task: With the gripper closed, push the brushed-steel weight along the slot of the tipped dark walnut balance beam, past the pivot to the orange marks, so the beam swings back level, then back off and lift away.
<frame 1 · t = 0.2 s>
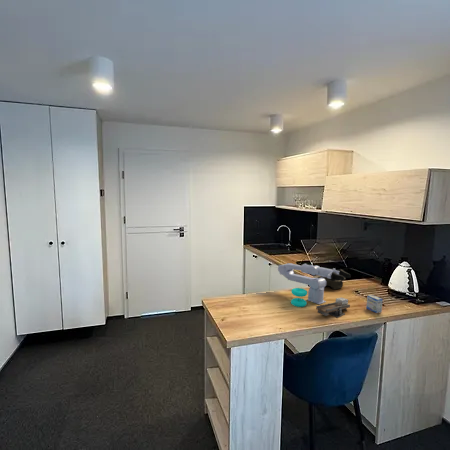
hand: (347, 277, 187), 21 cm above the worktop, tool horizontal, fingers open, 7 cm apart
medicine box: (373, 310, 191), on the worktop
donuts: (298, 305, 197), on the worktop
steel weight: (341, 305, 190), point 3 cm above the worktop, tilted 6°, touching beam
pivot stand: (333, 313, 185), on the worktop
beam: (333, 308, 185), point 3 cm above the worktop, hinge at -6.2°, touching steel weight
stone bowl: (329, 286, 239), on the worktop
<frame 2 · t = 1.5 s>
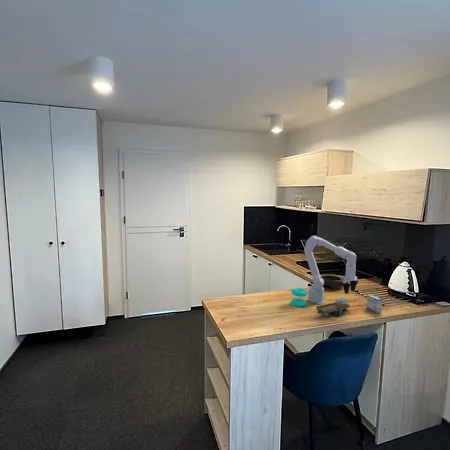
hand: (349, 292, 195), 10 cm above the worktop, tool pointing down, fingers open, 7 cm apart
nothing on the worktop moved.
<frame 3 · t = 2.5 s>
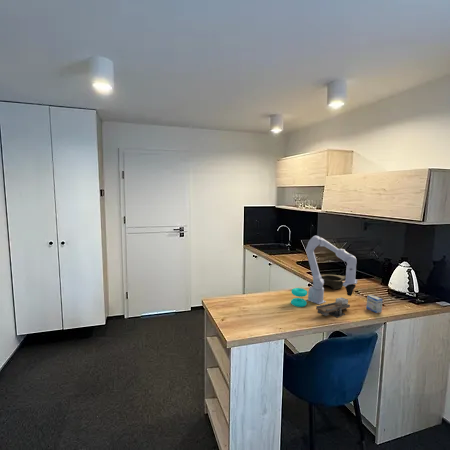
hand: (349, 295, 196), 7 cm above the worktop, tool pointing down, fingers closed
nothing on the worktop moved.
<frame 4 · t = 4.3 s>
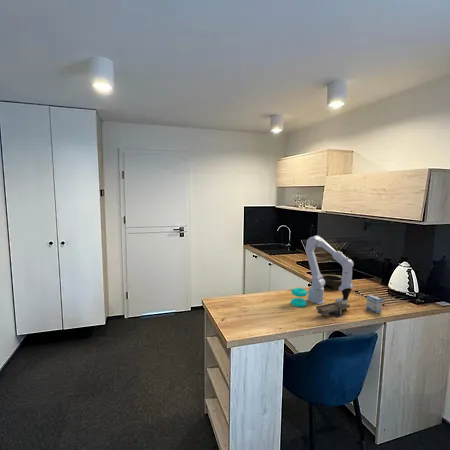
hand: (345, 299, 193), 6 cm above the worktop, tool pointing down, fingers closed
steel weight: (341, 305, 190), point 3 cm above the worktop, tilted 6°, touching beam, gripper
everything else where it was.
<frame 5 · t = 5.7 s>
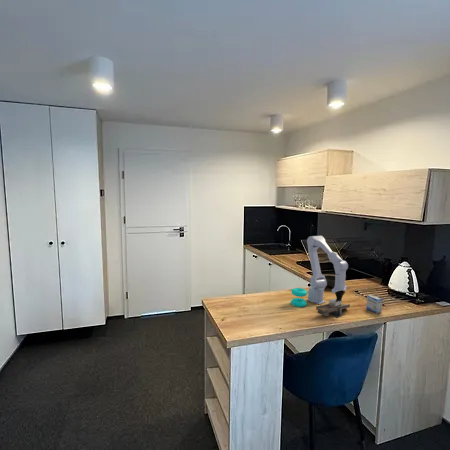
hand: (338, 302, 188), 6 cm above the worktop, tool pointing down, fingers closed, pressing on steel weight
steel weight: (334, 306, 185), point 4 cm above the worktop, tilted 5°, touching beam, gripper
beam: (333, 308, 185), point 3 cm above the worktop, hinge at -5.6°, touching steel weight
everything else where it was.
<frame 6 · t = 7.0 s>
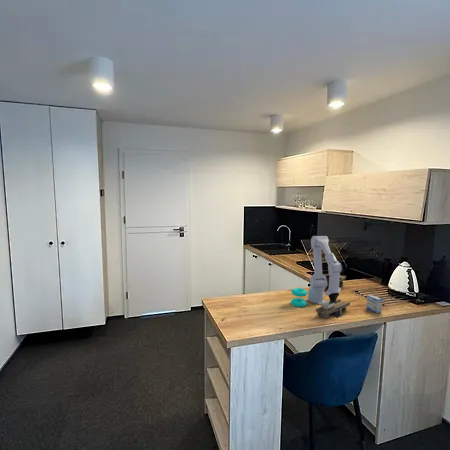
hand: (332, 304, 184), 6 cm above the worktop, tool pointing down, fingers closed
steel weight: (327, 309, 181), point 4 cm above the worktop, touching beam, gripper
beam: (333, 308, 185), point 3 cm above the worktop, hinge at 0.3°, touching steel weight
everything else where it was.
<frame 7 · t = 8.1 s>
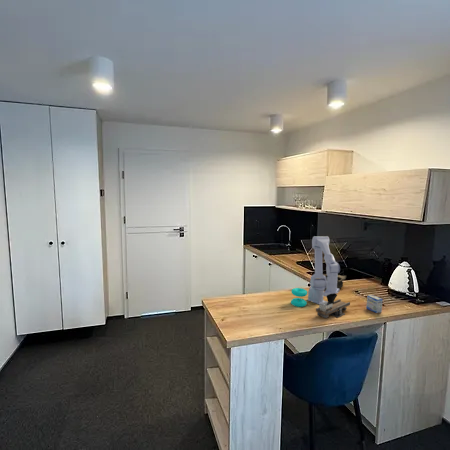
hand: (330, 305, 182), 6 cm above the worktop, tool pointing down, fingers closed
steel weight: (325, 309, 180), point 4 cm above the worktop, touching beam, gripper
everything else where it was.
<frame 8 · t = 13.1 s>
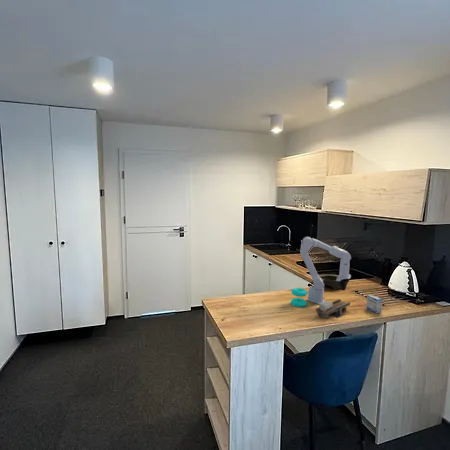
hand: (343, 289, 200), 9 cm above the worktop, tool pointing down, fingers closed
steel weight: (325, 309, 180), point 4 cm above the worktop, touching beam
everything else where it was.
at the end: beam at +0° (first picture: -6°); steel weight 0.4 cm from the target spot on the beam, point 0.8 cm above the beam's base; steel weight touching beam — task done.
